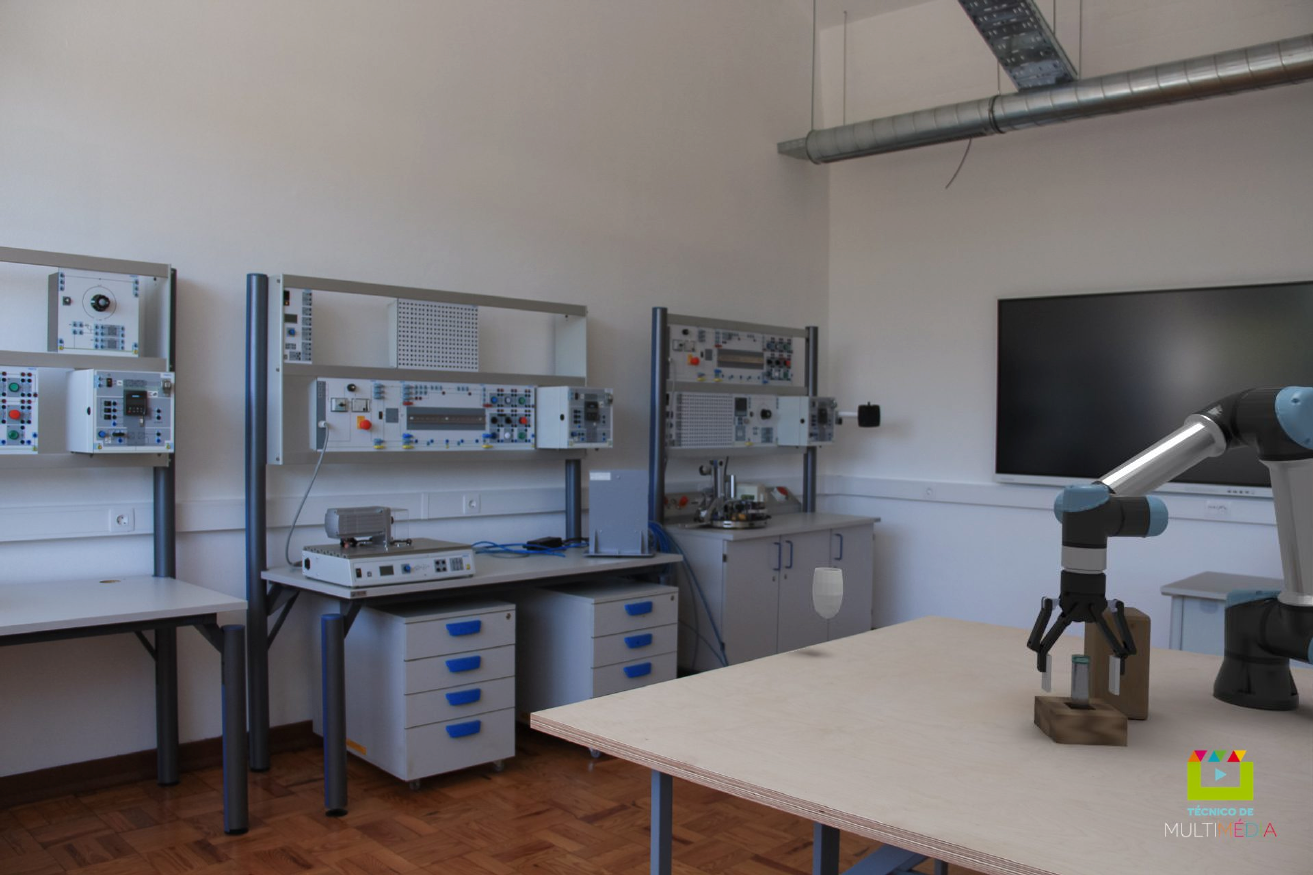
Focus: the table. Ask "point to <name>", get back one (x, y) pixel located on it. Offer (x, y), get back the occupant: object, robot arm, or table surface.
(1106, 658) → the wooden block
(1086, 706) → the peg
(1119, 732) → the socket block
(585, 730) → the table surface
